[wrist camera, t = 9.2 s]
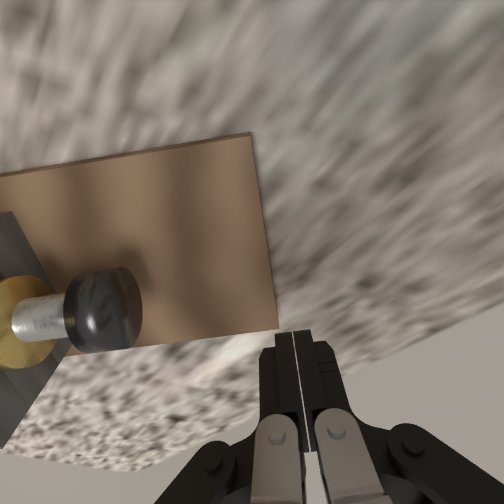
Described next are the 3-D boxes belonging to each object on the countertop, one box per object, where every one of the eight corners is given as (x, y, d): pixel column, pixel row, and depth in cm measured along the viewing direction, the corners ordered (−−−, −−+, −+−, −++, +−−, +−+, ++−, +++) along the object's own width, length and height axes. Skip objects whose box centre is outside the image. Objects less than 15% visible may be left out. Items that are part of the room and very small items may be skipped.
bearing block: (250, 132, 19) (253, 175, 10) (277, 315, 25) (294, 441, 16) (-93, 189, 20) (-362, 273, 11) (17, 350, 27) (-97, 483, 18)
